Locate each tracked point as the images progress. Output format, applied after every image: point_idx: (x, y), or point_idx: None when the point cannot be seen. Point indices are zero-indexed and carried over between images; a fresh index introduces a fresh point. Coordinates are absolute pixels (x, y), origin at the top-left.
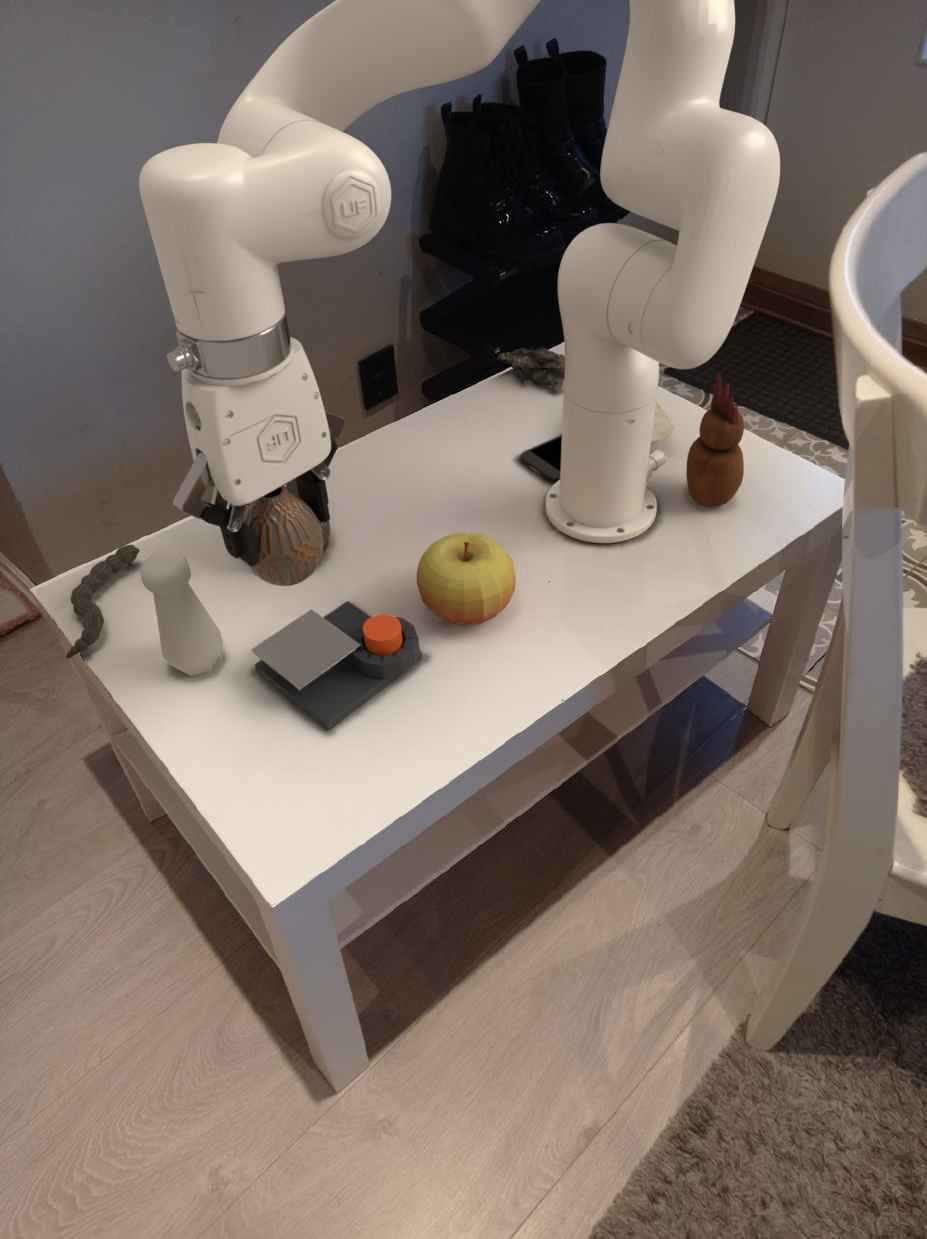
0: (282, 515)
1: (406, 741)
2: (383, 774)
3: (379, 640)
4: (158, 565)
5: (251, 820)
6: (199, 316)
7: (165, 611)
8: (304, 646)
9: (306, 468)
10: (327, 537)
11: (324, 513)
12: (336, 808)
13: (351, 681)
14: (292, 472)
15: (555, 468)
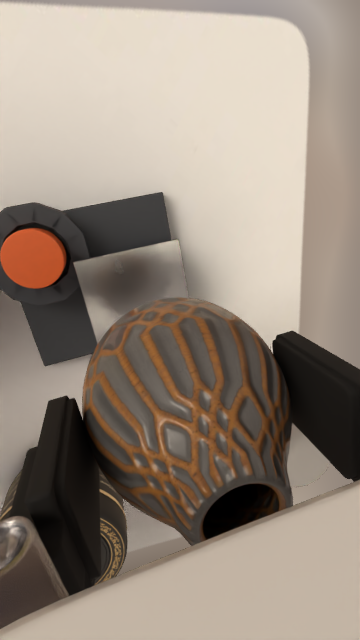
0: (229, 408)
1: (85, 108)
2: (136, 81)
3: (49, 235)
4: (316, 458)
5: (280, 135)
6: None
7: None
8: (140, 303)
9: (141, 597)
10: (20, 475)
11: (62, 411)
12: (206, 79)
13: (104, 236)
14: (276, 580)
15: None
